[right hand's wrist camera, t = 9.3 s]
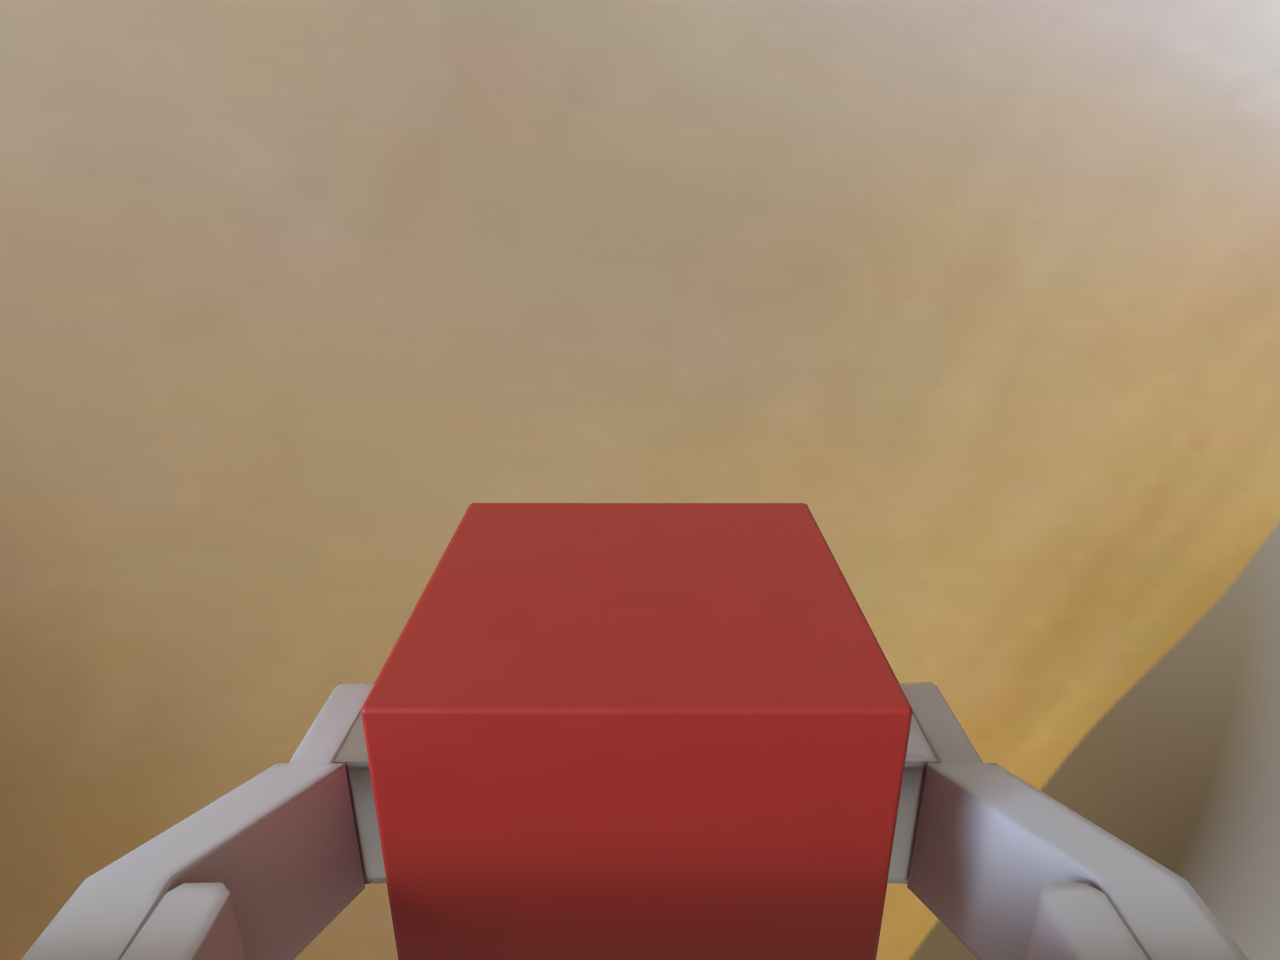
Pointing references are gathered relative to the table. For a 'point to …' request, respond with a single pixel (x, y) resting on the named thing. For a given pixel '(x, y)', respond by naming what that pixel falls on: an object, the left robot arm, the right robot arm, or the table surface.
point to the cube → (637, 741)
